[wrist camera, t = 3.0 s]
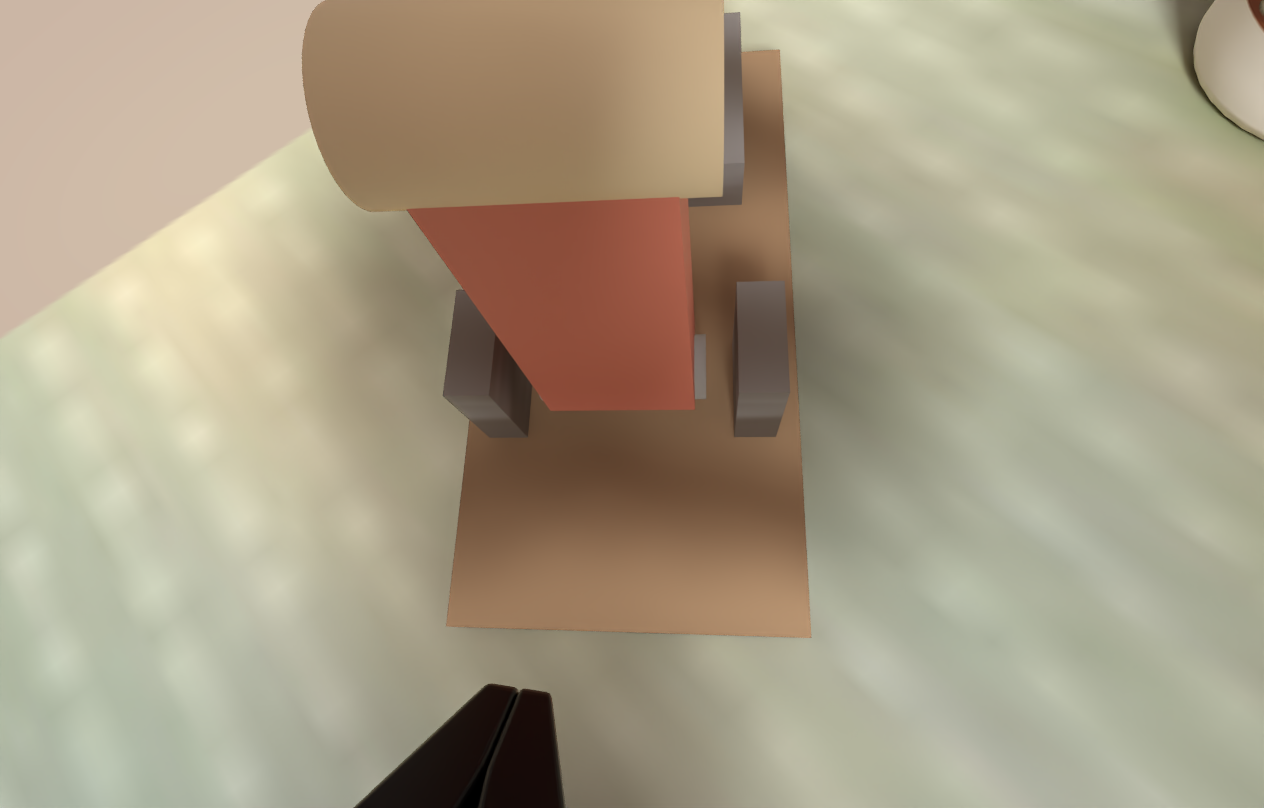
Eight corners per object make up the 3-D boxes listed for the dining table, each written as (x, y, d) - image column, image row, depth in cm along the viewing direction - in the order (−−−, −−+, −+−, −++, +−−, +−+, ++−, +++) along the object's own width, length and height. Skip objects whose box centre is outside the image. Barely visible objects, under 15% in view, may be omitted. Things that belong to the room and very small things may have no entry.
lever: (717, 424, 19) (724, 92, 7) (537, 425, 20) (283, 119, 8) (715, 334, 20) (722, -88, 8) (543, 337, 20) (325, -52, 9)
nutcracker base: (805, 637, 19) (836, 638, 14) (460, 627, 20) (383, 623, 15) (776, 75, 25) (791, -53, 21) (518, 92, 26) (476, -26, 22)
